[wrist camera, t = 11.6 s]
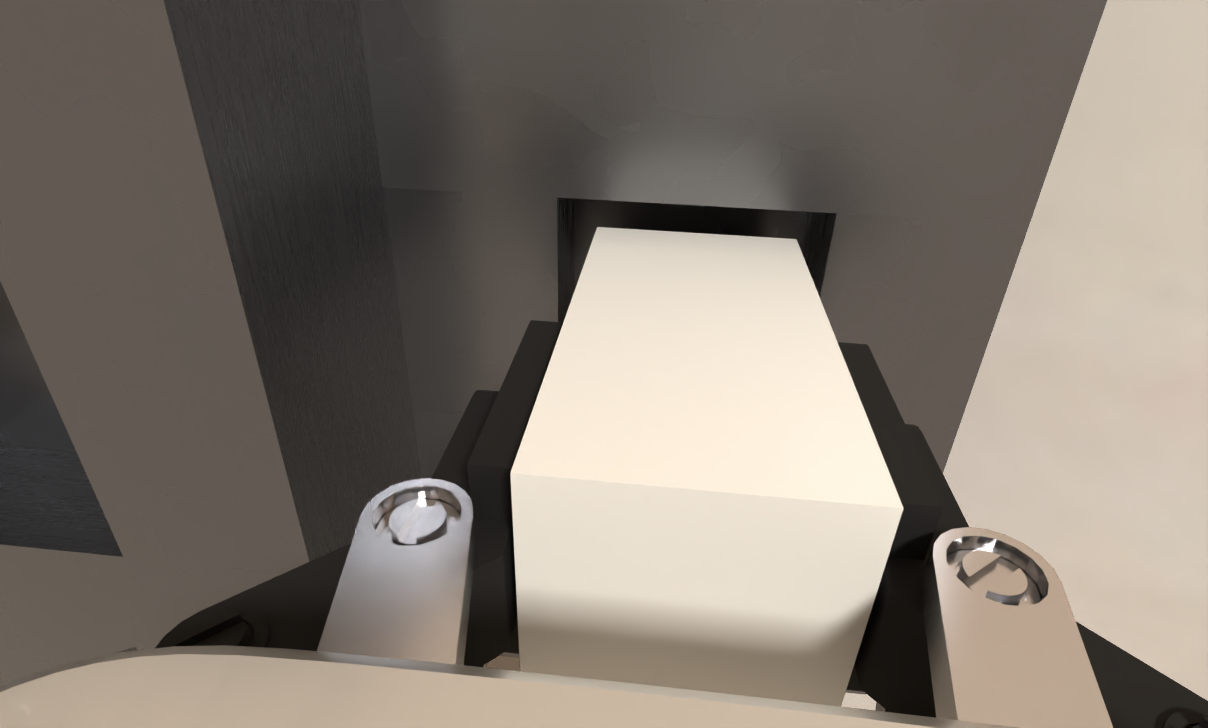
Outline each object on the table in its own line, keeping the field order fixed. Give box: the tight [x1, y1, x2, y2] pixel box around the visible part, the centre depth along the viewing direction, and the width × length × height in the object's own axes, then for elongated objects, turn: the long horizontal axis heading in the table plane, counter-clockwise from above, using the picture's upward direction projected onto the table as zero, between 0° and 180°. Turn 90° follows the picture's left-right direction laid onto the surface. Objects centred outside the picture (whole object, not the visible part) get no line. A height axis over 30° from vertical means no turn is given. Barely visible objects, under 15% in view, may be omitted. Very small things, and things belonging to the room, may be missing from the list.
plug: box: [510, 227, 903, 707], centre depth 12 cm, size 4×4×8 cm
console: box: [0, 0, 1107, 694], centre depth 14 cm, size 22×24×9 cm
